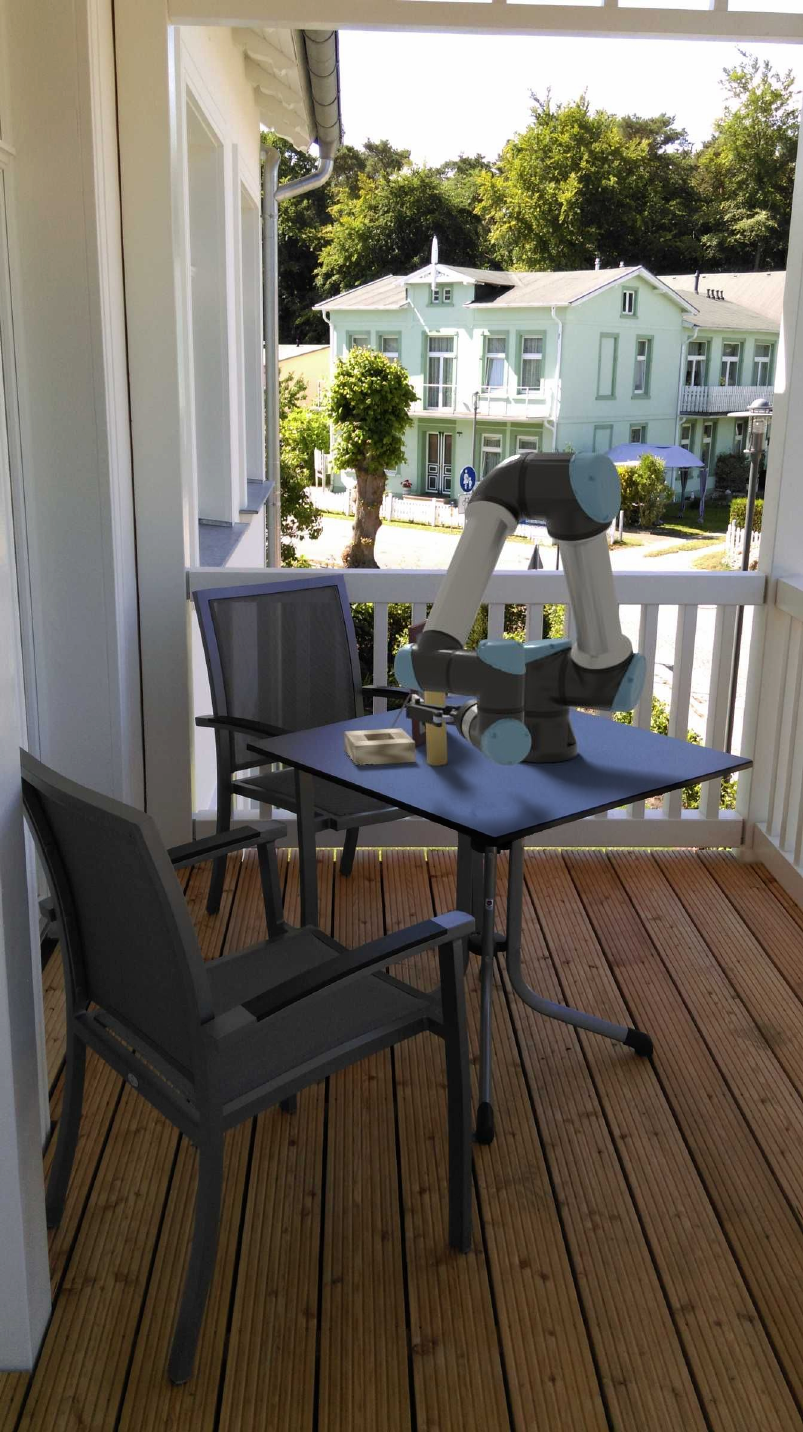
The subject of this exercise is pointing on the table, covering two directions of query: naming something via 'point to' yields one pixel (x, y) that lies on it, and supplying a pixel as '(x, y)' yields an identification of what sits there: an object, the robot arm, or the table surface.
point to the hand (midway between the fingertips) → (449, 700)
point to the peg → (436, 733)
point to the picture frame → (417, 726)
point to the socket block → (379, 746)
